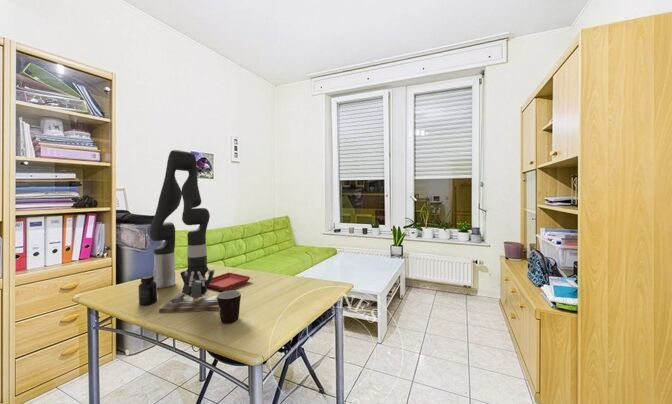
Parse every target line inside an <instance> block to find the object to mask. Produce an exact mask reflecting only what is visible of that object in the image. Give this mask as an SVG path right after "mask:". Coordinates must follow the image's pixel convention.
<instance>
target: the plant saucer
mask: <svg viewBox="0 0 672 404" xmlns="http://www.w3.org/2000/svg"><path fill="white" fill-rule="evenodd" d="M251 278H252V277H251V276H248V275H243V274H238V273H233V272H226V273H223V274H220V275H216V276H213V278H212V281H211V283H209V284H207V288H211V289H215V290H218V291H222V292H225V291H229V290H231V289H234V288H236V287H238V286H241V285H244V284H246V283H248V282H249V280H250V279H251ZM207 280H208V278H206V281H207Z"/></svg>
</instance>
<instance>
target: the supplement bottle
mask: <svg viewBox="0 0 672 404" xmlns="http://www.w3.org/2000/svg"><path fill="white" fill-rule="evenodd" d="M153 280H154V276H153V274H152V275H149V274H148V275H144V276H142V277H140V283H139V284H138V286H137V287H138V305H139V306H140V307H147V306H153V305H155V304H156V303H157V302H158V288H157V283H156V282H155V281H153Z"/></svg>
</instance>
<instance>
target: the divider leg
mask: <svg viewBox="0 0 672 404" xmlns="http://www.w3.org/2000/svg"><path fill="white" fill-rule="evenodd" d="M191 292H192V295H191V297H193V302H194V301H199V300H200V299H202V298H203V297H204V296H206V293H205V294H202V283H201V281H200V280H196V281H194V282H193V283H191Z"/></svg>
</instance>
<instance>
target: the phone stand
mask: <svg viewBox="0 0 672 404" xmlns="http://www.w3.org/2000/svg"><path fill="white" fill-rule="evenodd" d="M187 276H188V279H189V280H190V275H189V274H187ZM196 280H200V279H199V278H196V279H195V281H196ZM181 293H185V295H188V296H190V295H191V294H190V291H189V286H188V285H184V284H183V287H182V291H181ZM191 296H192V295H191Z"/></svg>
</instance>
